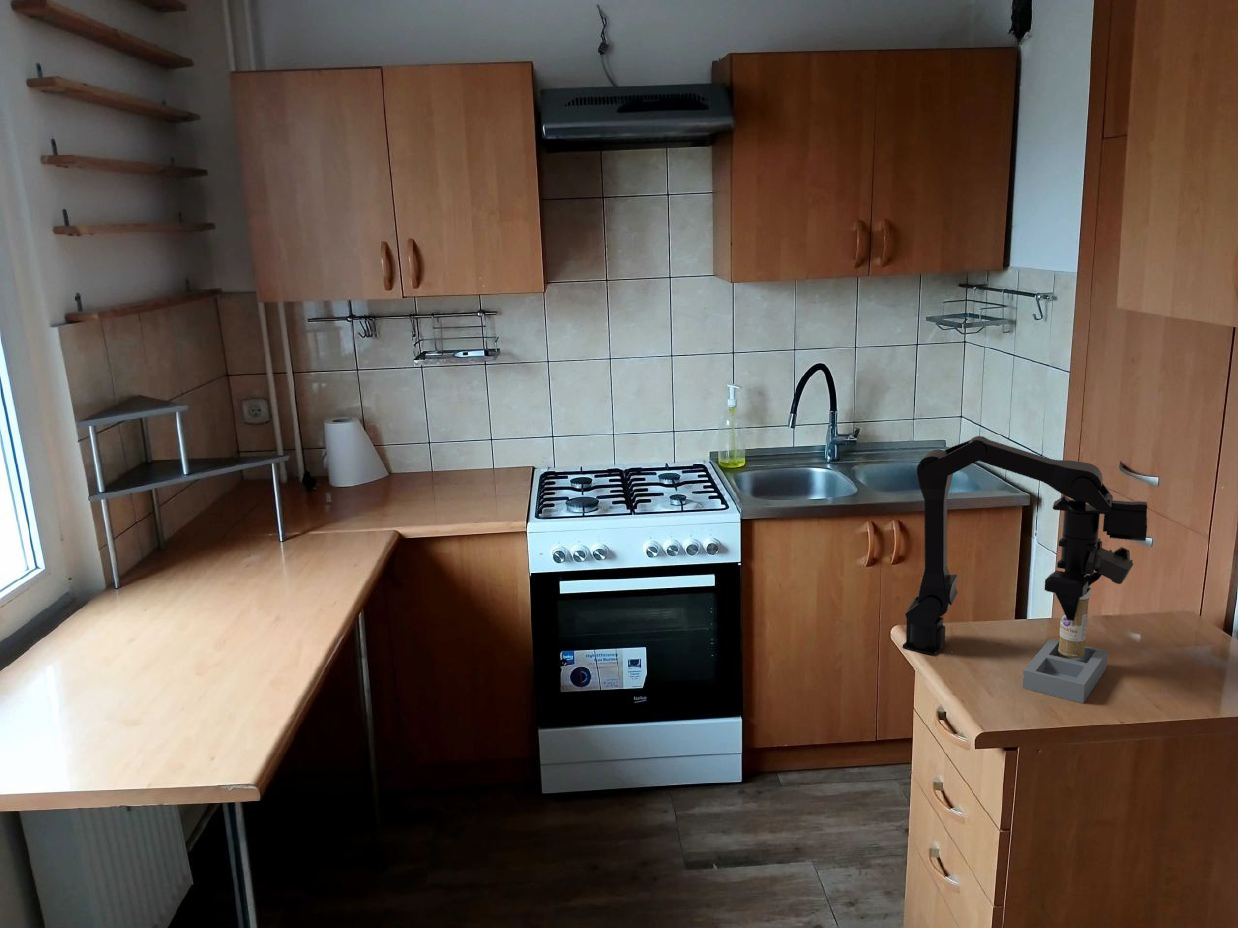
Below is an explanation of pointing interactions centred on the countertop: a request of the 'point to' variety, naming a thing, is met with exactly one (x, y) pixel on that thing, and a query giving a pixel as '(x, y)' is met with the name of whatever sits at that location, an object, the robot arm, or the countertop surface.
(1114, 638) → the countertop surface
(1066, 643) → the sprinkles bottle
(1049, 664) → the slot caddy
